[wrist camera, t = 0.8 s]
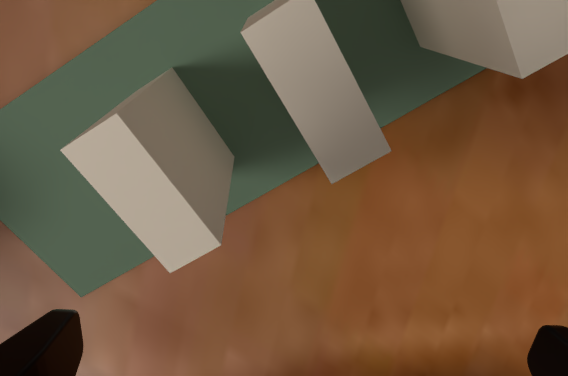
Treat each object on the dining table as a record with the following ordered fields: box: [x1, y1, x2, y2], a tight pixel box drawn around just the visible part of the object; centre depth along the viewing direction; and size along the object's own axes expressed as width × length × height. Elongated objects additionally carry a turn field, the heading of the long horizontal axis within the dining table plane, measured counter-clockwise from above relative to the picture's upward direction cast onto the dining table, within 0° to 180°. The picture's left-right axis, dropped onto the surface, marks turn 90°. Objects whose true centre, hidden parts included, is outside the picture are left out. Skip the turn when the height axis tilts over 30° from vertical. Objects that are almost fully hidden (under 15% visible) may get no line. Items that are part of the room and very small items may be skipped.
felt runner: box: [0, 0, 486, 297], centre depth 19 cm, size 10×32×1 cm, turn 121°
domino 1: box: [60, 68, 234, 273], centre depth 16 cm, size 5×2×8 cm, turn 31°
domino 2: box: [240, 0, 391, 184], centre depth 15 cm, size 5×2×8 cm, turn 31°
